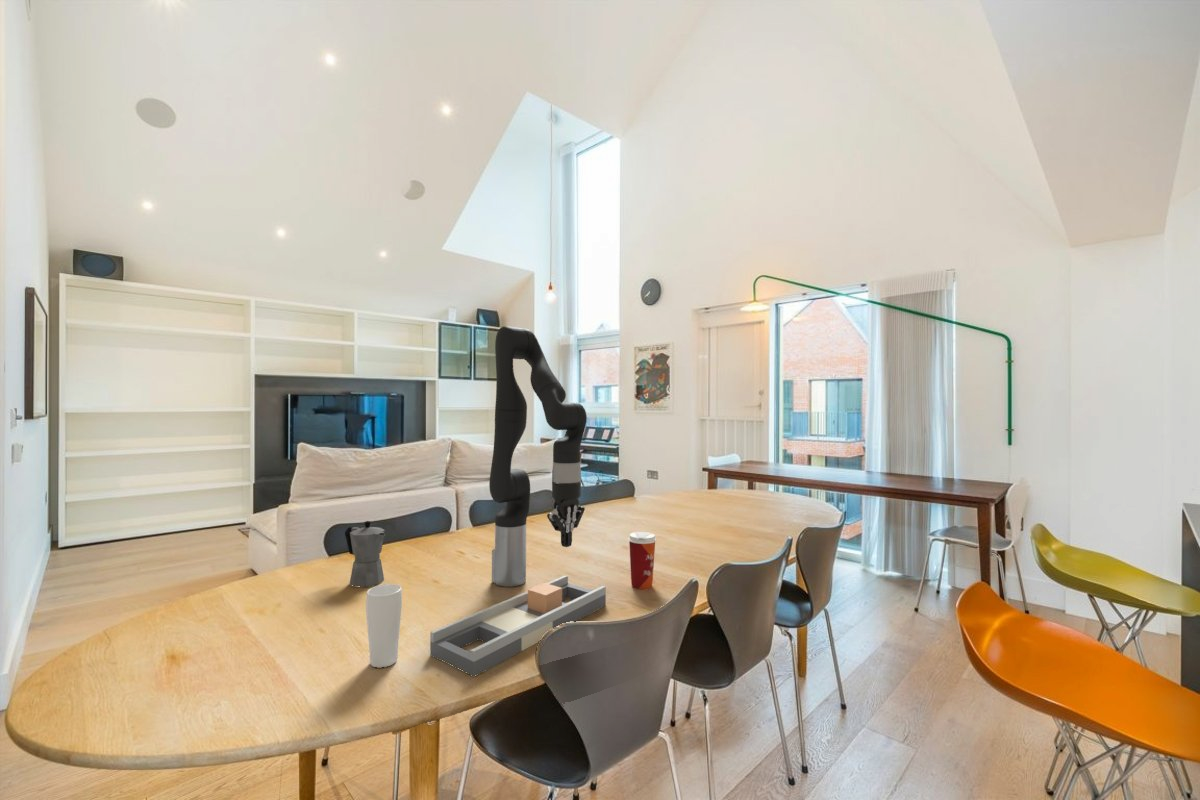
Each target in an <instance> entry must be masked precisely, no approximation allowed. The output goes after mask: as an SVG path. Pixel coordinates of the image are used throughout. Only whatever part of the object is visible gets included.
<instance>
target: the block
mask: <svg viewBox="0 0 1200 800" xmlns="http://www.w3.org/2000/svg"><path fill="white" fill-rule="evenodd" d="M547 583H548V582H542V583H540V584H538V585H536V586H533V587H531V588H529V589H527V591H528V608H530V609H532V610H535V611H538V612H541V613H544V614H546V613H548V612H550V611H552V610H554V609H556V608H558V607H560V606H562V602H563V600H562V588H561V587H557V586H554V585H551V584H547Z"/></svg>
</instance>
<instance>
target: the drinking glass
mask: <svg viewBox="0 0 1200 800" xmlns="http://www.w3.org/2000/svg"><path fill="white" fill-rule="evenodd" d="M402 590H403V589H402V587H401V585H399V584H394V583H393V584H392V583H388V584H387V583H386V584H385V583H384V584H378V585H375V586H372V587H370V588H369V589H368V590H366V591H367V592H366V601H365V604H366V605H365V610H366V611H365V613H366V625H367V636H368V637H367V638H368V639H367V640H368V648H369V650H368V651H369V664H370V666H371V667H373V668H375V667H377V669H383V668H382V667H384V668H387V666H388V667H391V666H392V665H394V664H395V663H396V662H397V660H398V658H399V657H398V656H399V639H400V628H401V620H402V610H403V609H402V608H403V593H402V592H403V591H402Z"/></svg>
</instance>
